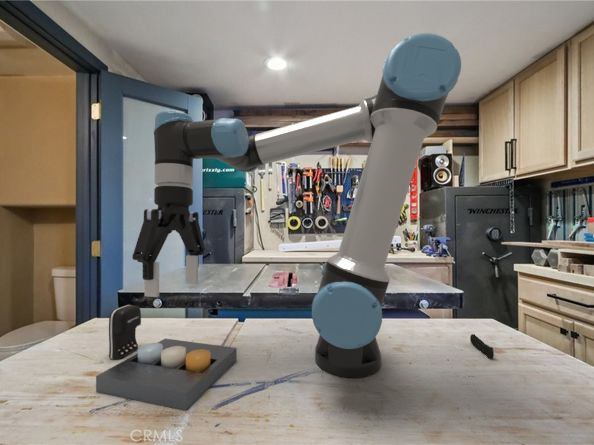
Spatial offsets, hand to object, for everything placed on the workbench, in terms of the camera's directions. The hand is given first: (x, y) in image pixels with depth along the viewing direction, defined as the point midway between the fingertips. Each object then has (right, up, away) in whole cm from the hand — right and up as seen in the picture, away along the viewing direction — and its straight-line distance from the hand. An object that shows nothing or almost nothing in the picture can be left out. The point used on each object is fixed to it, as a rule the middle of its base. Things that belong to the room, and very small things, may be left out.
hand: (173, 289), depth 58 cm
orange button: (+6, -15, -2) cm, 16 cm away
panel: (0, -18, 0) cm, 18 cm away
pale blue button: (-6, -15, +1) cm, 16 cm away
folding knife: (+73, -19, +11) cm, 76 cm away
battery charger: (-16, -18, +9) cm, 26 cm away
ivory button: (0, -15, 0) cm, 15 cm away
